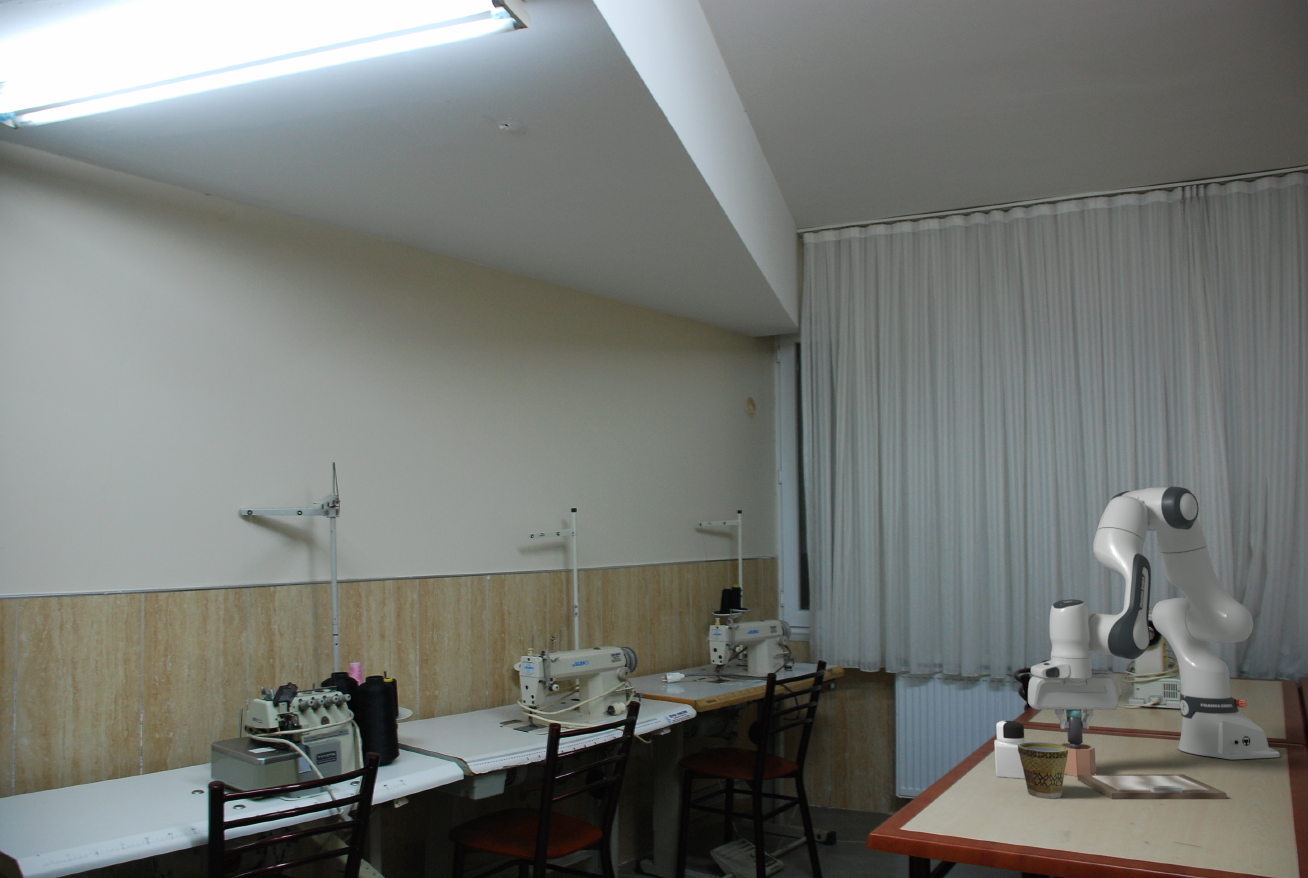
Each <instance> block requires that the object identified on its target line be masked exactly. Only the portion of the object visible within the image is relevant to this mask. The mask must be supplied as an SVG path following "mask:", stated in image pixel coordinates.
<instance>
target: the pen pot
mask: <svg viewBox="0 0 1308 878" xmlns="http://www.w3.org/2000/svg"><path fill="white" fill-rule="evenodd" d="M1058 744H1059V745H1063V746H1065V747H1067V748H1068V756H1067V763H1066V767H1065V771H1064V775H1066V774H1068V775H1067V776H1072V775H1073V777H1078V775H1095V774H1096V775H1097V767H1096V766H1097V765H1096V748H1095V747H1094V746H1093V745H1090V744H1085V743H1081V749H1072V748H1070V742H1062V743H1058Z"/></svg>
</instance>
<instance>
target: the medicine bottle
mask: <svg viewBox="0 0 1308 878" xmlns="http://www.w3.org/2000/svg"><path fill="white" fill-rule="evenodd" d="M995 731H996V739H994V762H995V765H994V767H995V776H996V778H1004V777H1007V778H1006V779H1018V778H1020V780H1021V779H1022V780H1025V775H1024V771H1023V766H1022V763H1021V759H1020V755H1019V752H1018V744H1020V743H1023V742H1026V741H1025V727H1024V724H1023V723H1021V722H1018V721H1014V720H1001V721H998V722H997V723H996V728H995Z"/></svg>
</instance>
